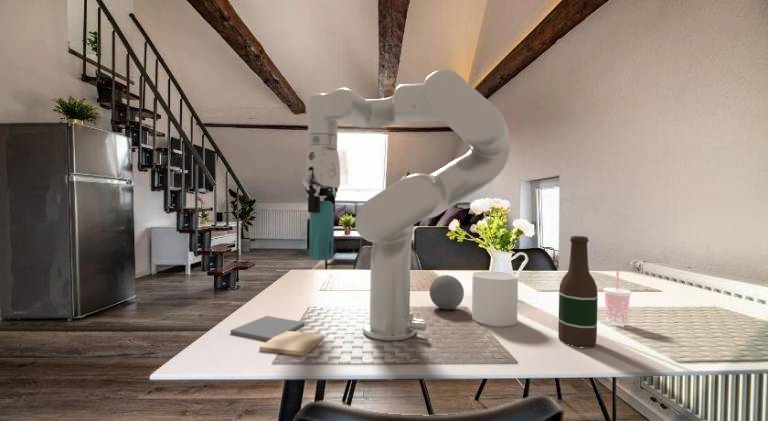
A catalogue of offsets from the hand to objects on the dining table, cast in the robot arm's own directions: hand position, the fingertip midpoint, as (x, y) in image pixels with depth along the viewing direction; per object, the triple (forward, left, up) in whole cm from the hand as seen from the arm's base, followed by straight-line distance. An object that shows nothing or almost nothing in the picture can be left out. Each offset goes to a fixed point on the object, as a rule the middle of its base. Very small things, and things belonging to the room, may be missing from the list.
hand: (321, 211), depth 93 cm
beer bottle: (-60, -12, -29) cm, 68 cm away
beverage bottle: (0, 0, -14) cm, 14 cm away
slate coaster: (+8, +11, -28) cm, 31 cm away
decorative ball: (-27, -25, -29) cm, 47 cm away
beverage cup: (-71, -31, -29) cm, 83 cm away
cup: (-41, -21, -29) cm, 55 cm away
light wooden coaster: (-3, +16, -28) cm, 33 cm away
